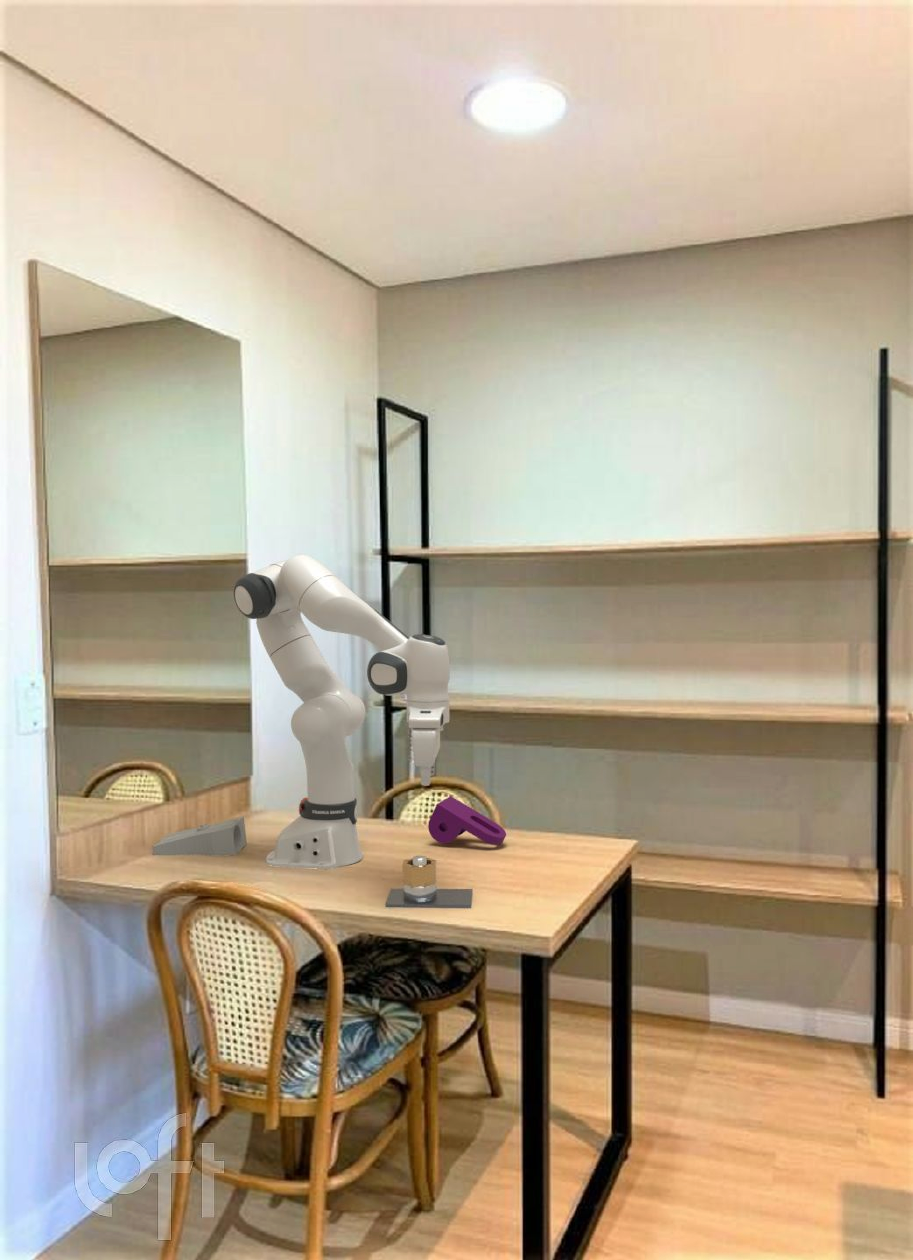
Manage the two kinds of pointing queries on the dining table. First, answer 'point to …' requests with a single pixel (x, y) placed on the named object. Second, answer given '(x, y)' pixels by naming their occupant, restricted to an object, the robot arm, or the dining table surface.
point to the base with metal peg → (428, 895)
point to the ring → (419, 873)
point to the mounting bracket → (462, 823)
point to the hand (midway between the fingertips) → (427, 780)
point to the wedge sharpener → (205, 840)
